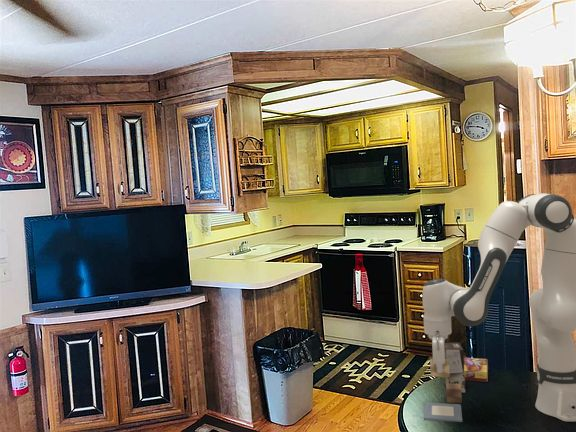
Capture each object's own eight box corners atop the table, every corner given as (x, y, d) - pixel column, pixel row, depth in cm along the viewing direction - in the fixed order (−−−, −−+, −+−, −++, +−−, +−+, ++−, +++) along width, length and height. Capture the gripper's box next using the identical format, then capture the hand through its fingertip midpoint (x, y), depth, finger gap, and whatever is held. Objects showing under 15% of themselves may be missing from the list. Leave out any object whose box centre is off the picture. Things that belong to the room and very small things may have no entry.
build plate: (460, 406, 169) (460, 404, 169) (462, 422, 157) (462, 419, 157) (424, 404, 172) (424, 402, 172) (423, 419, 161) (423, 417, 161)
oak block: (448, 370, 166) (448, 358, 166) (449, 377, 160) (449, 365, 160) (430, 369, 168) (429, 358, 168) (430, 376, 162) (430, 364, 162)
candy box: (487, 383, 187) (488, 368, 201) (486, 372, 186) (487, 358, 200) (463, 381, 190) (465, 366, 204) (462, 370, 190) (464, 356, 204)
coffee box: (466, 392, 179) (463, 349, 178) (448, 392, 180) (445, 349, 180) (462, 383, 188) (459, 341, 187) (445, 383, 189) (442, 342, 189)
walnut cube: (461, 397, 176) (460, 383, 175) (462, 403, 171) (461, 389, 171) (446, 396, 177) (445, 383, 177) (447, 402, 172) (446, 388, 172)
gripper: (448, 336, 153) (450, 380, 153) (446, 319, 172) (448, 358, 173) (427, 336, 154) (429, 379, 155) (428, 319, 174) (430, 357, 175)
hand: (439, 368), depth 164 cm, fingers closed on oak block, 6 cm apart
